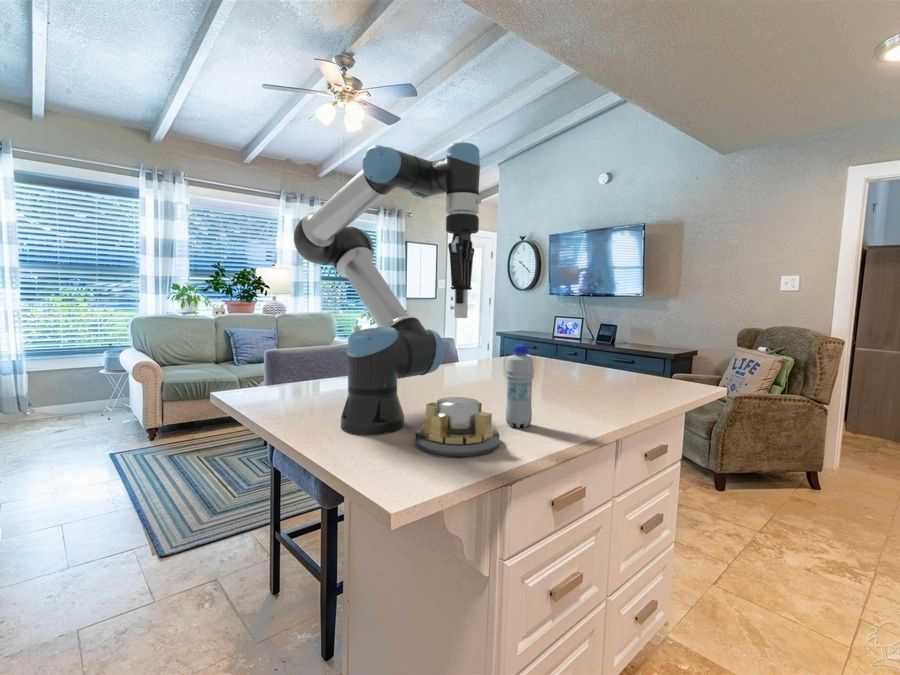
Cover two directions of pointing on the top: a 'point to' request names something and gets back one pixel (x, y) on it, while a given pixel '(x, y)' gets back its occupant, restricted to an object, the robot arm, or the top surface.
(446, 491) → the top surface
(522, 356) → the bottle
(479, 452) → the cap plate
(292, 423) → the top surface
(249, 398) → the top surface
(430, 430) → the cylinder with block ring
